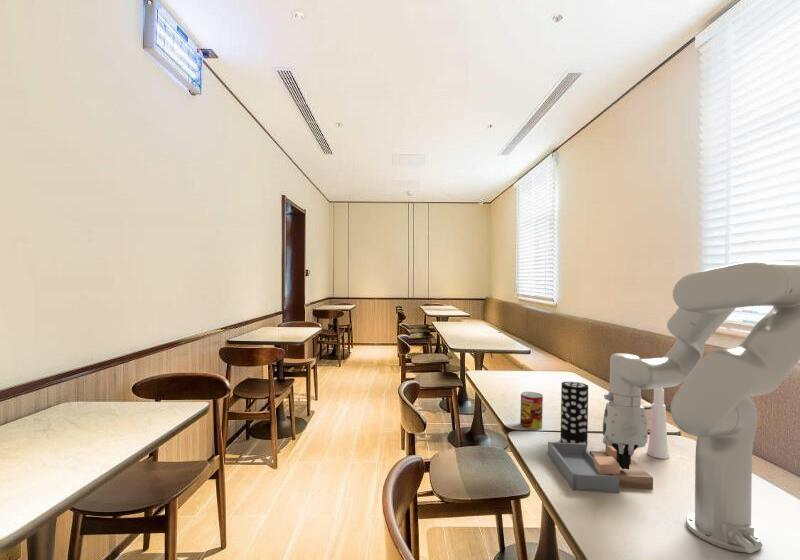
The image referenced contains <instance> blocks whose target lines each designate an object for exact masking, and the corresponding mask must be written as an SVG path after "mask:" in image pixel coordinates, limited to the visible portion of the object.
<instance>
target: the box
mask: <svg viewBox="0 0 800 560" xmlns="http://www.w3.org/2000/svg"><path fill="white" fill-rule="evenodd" d="M547 455H548V457H549V459H550V460H551V461H552V463H553V464H554V465H555V466H556V468H557V469H558V471H559V472H560V474H561V475H562V477H563V478H564V479H565V481H566V482H567V483H568V485H569V486H570V487H571V489H572V490H573V491H577V490H578V491H581V492H596V491H597V493H600V492H601V493H615V494H617V493H618V494H619V493H620V487H619V478H620V477H619V476H615V475H611V474H600V473H599V471H598V470H597V469H596V467H595V466H594V457H593V456H592V455H591V454H590V451H588V443H587V444H581V443H561V442H559V441H558V442H555V441H554V442H553V441H548V442H547Z"/></svg>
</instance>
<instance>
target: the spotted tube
mask: <svg viewBox="0 0 800 560" xmlns="http://www.w3.org/2000/svg"><path fill="white" fill-rule="evenodd" d="M560 389H561V394H560V395H561V397H560V398H561V399H560V403H561V404H560V443H581V444H587V445H588V437H589V436H588V435H589V434H588V430H589V429H588V426H589V385H588V384H586V383H583V382H579V381H563V382H561V388H560Z"/></svg>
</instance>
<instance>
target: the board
mask: <svg viewBox="0 0 800 560" xmlns="http://www.w3.org/2000/svg"><path fill="white" fill-rule="evenodd" d="M589 453H590V454H591V455H592V456H593V457H610V456H609V455H608V454H607V453H606V451H601V450H599V451H597V450H589ZM615 460H616V459H615ZM611 475H615V476H619V477H620V478H619V488H627V489H629V488H631V489H645V490H647V489H648V490H653V489H654V477H653V476H652V475H651V474H650V473H649V472H648V471H646V470H645V469H644V468H643V467H641V466H640V465H639V464H638V463H637V462H635V460H633V459H632V458H631V464H630V465H629V469H622V468H621V467H620V474H611Z"/></svg>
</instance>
